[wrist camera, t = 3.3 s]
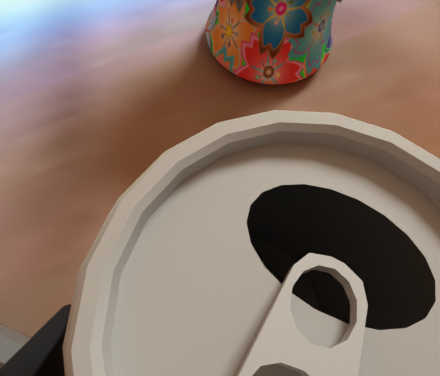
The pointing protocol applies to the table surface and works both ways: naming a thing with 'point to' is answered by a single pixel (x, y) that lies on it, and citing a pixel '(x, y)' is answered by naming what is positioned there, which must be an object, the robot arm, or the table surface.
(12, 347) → the slate dish
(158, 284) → the can
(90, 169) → the table surface
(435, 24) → the table surface
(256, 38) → the mug
